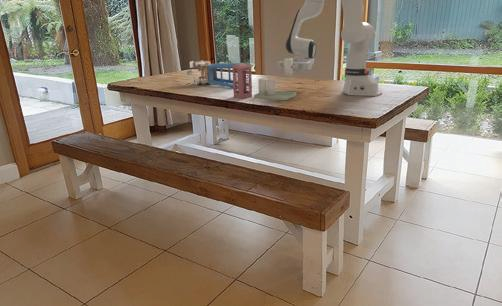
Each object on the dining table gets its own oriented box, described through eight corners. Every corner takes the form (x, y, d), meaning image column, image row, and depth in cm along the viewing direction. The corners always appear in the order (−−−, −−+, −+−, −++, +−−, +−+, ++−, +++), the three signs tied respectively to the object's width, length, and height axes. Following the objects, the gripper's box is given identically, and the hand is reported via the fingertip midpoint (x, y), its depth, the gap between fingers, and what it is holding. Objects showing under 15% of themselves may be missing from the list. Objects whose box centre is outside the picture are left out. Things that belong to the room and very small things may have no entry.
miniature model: (245, 96, 231) (243, 61, 224) (253, 98, 223) (252, 63, 216) (232, 98, 226) (230, 63, 219) (240, 100, 219) (238, 65, 212)
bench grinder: (199, 58, 281) (251, 61, 259) (200, 80, 287) (252, 85, 265) (183, 61, 268) (237, 64, 246) (185, 84, 274) (238, 90, 251)
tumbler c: (293, 76, 222) (293, 58, 219) (290, 77, 219) (290, 59, 215) (286, 75, 225) (286, 58, 221) (283, 76, 221) (282, 59, 217)
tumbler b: (268, 96, 224) (267, 78, 221) (264, 97, 220) (263, 80, 217) (261, 95, 226) (260, 78, 223) (257, 97, 223) (256, 79, 219)
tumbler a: (276, 96, 221) (276, 79, 218) (273, 98, 218) (272, 80, 214) (269, 96, 224) (269, 78, 220) (265, 97, 220) (265, 80, 216)
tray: (296, 96, 223) (296, 92, 223) (285, 101, 212) (285, 97, 211) (265, 94, 233) (265, 90, 232) (254, 98, 222) (254, 94, 221)
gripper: (282, 57, 234) (271, 60, 223) (314, 58, 224) (304, 61, 213) (282, 68, 236) (271, 71, 225) (313, 69, 226) (304, 73, 215)
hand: (287, 66), depth 219 cm, fingers closed on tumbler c, 5 cm apart
